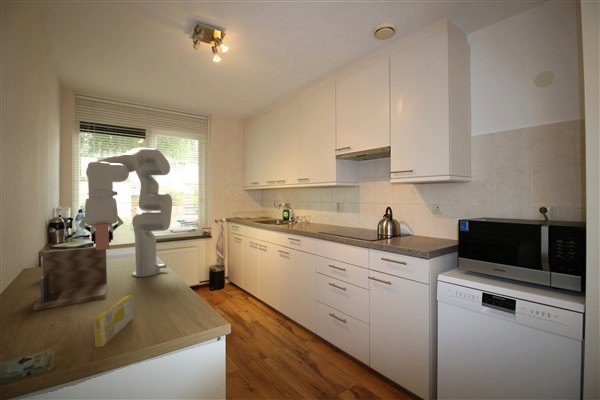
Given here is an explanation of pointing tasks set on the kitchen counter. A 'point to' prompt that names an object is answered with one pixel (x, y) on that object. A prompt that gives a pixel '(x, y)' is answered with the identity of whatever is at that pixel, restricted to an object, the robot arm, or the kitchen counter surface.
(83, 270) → the shelf
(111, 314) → the candy box
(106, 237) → the book
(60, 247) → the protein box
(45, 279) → the bookend
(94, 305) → the kitchen counter surface
